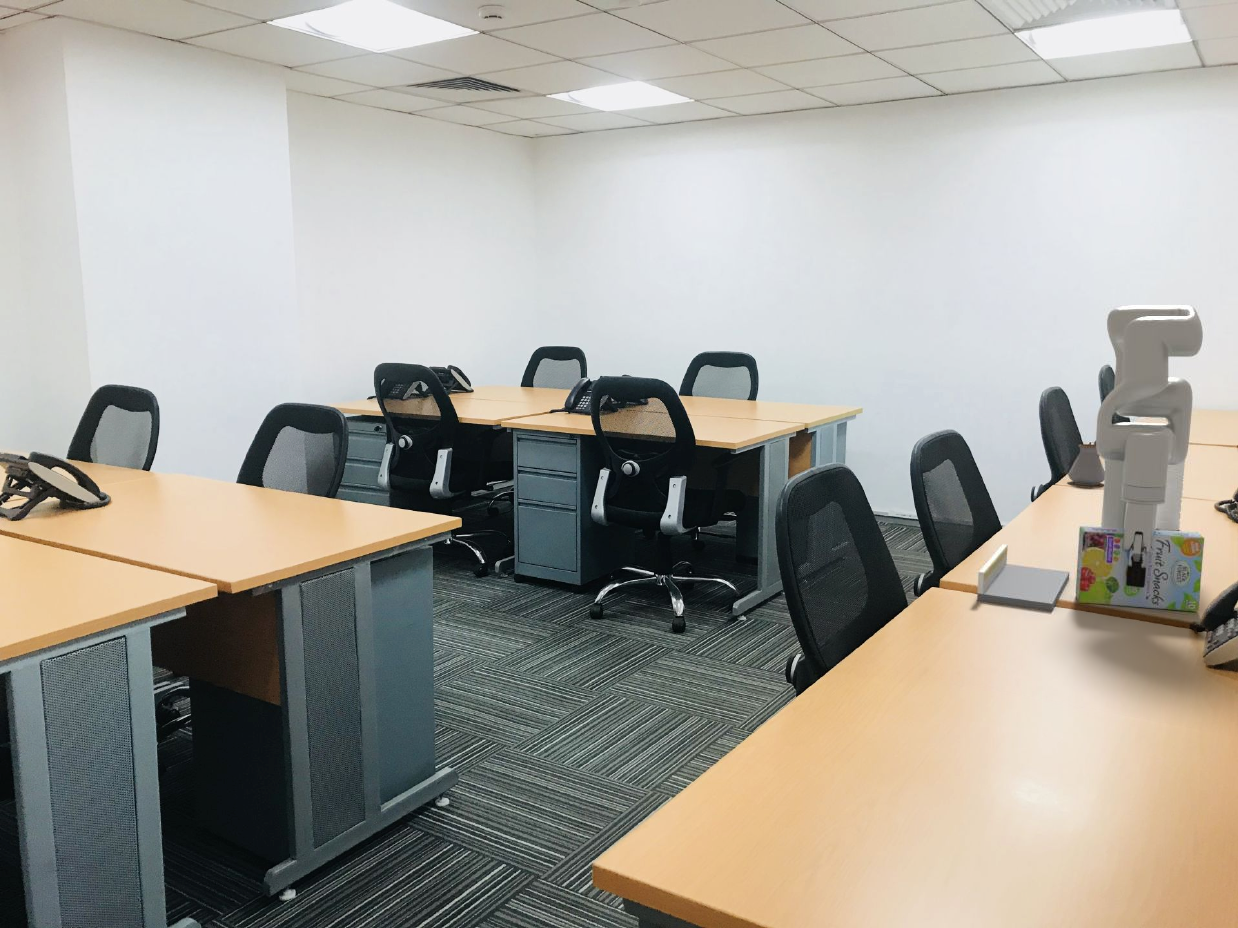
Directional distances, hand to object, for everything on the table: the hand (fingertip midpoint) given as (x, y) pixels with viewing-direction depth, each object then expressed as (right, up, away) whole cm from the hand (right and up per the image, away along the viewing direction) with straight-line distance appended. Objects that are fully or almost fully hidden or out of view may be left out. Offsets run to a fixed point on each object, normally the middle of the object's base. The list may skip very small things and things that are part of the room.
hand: (1136, 580), depth 188 cm
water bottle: (+43, +6, +64) cm, 77 cm away
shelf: (-17, -3, +12) cm, 21 cm away
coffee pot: (+57, +16, +124) cm, 138 cm away
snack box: (0, -5, +1) cm, 5 cm away
